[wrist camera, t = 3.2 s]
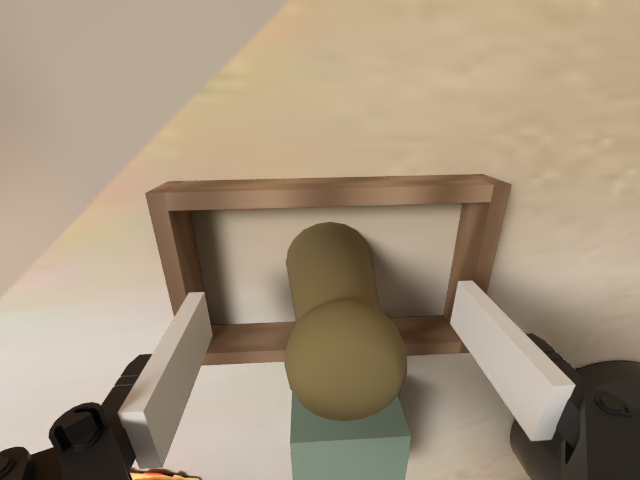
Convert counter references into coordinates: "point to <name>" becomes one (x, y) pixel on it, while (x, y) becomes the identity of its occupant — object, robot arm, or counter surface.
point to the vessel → (157, 477)
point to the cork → (340, 328)
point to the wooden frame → (271, 338)
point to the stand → (349, 445)
